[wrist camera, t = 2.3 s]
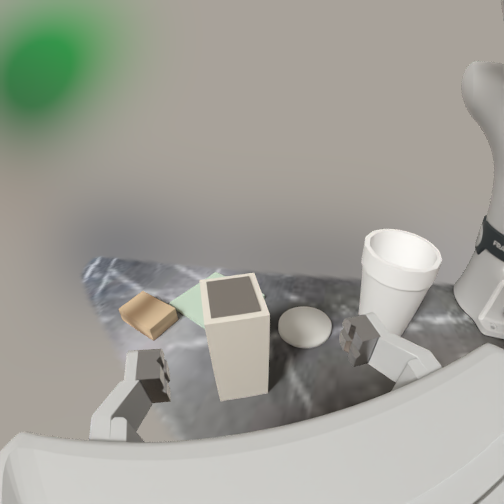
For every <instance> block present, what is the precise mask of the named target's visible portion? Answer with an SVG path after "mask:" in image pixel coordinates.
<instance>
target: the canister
mask: <svg viewBox="0 0 504 504" xmlns="http://www.w3.org/2000/svg"><path fill="white" fill-rule="evenodd" d="M200 290H201V300H202V309H203V318H204V326H205V331H206V336H207V341H208V346H209V351H210V356H211V361H212V366H213V370H214V375H215V379H216V384H217V388H218V393H219V397H220V401H225V400H231V399H238V398H244V397H249V396H255V395H260V394H265V393H268V374H269V336H270V314H269V311H268V308H267V306H266V303H265V301H264V298H263V295H262V293H261V290H260V287H259V285H258V282H257V279H256V277H255V274H254V273H249V274H242V275H235V276H227V277H220V278H212V279H205V280H200Z"/></svg>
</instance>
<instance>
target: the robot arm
mask: <svg viewBox="0 0 504 504" xmlns="http://www.w3.org/2000/svg"><path fill="white" fill-rule="evenodd" d="M501 5H502V12H503V20H504V0H501ZM461 90H462V97H463V100H464V103H465V106H466V108H467V110H468V112H469V113H470V115H471V116H472V117H473V119H474V120H475V121H476V122H477V123H478V125H479V126H480V128H481V129H482V131H483V132H484V134H485V136H486V138H487V140H488V142H489V145H490V148H491V151H492V155H493V160H494V183H493V190H492V196H491V201H490V205H489V210H488V214H487V215H486V216H485V217H484V220H483V223H482V224H481V227H480V230H479V234H478V237H477V240H476V246H475V248H476V249H475V251H474V254H473V256H472V258H471V260H470V262H469V264H468V266H467V267H466V269H465V271H464V272H463V274H462V275H461V277H460V278H459V279H458V280H457V282H456V283H455V285H454V295H455V298H456V300H457V302H458V304H459V305H460V306H461V308H462V309H463V310H464V311H465V312H466V313H467V314H468V315H469V316H470V317H471V318H472V319H473V320H474V321H475V323H476V325H477V327H478V328H479V330H480V331H481V332H482V333H483V334H484V335H487V336H492V337H496V338H501V339H504V64H501V63H495V62H485V61H484V62H483V61H473V62H472V63H471V64H470V65H469V66H468V67H467V68H466V70H465V72H464V74H463V77H462V84H461ZM342 325H343V327H344V328H343V330H342V331H341V332H340V336H339V338H340V344H341V347H342V349H343V350H344V351H346V352H347V353H348V356H347V358H348V359H349V361H350V363H351V365H352V366H353V367H356V366H360V365H363V364H367V363H368V364H369V365H371V366H372V367H374V368H375V369H377V370H378V371H379V372H381V373H382V374H384V375H385V376H387V377H388V378H390V379H391V380H393V381H394V382H396V384H395V386H394V387H393V389H392V391H391V392H389V393H386V394H384V395H381V396H379V397H376V398H374V399H371V400H368V401H365V402H363V403H360V404H357V405H354V406H351V407H348V408H345V409H342V410H339V411H336V412H332V413H329V414H326V415H322V416H319V417H315V418H312V419H308V420H304V421H300V422H296V423H292V424H288V425H283V426H279V427H274V428H270V429H265V430H260V431H254V432H249V433H243V434H236V435H230V436H223V437H215V438H206V439H196V440H184V441H168V442H144V441H143V440H142V439H141V437H140V436H139V435H138V434H137V433H136V431H137V429H138V428H139V426H140V424H141V423H142V421H143V419H144V417H145V416H146V414H147V412H148V411H149V409H150V407H151V406H152V403H161V402H171V397H170V387H169V385H168V383H169V381H170V373H169V367H168V364H167V361H166V360H165V359H164V353H163V350H162V349H151V350H134V351H128V353H127V357H126V365H125V374H124V381H120V383H119V384H118V385H117V386H116V388H115V389H114V390H113V391H112V392H111V393H110V395H109V396H108V397H107V398H106V399H105V401H104V402H103V403H102V404H101V405H100V407H99V408H98V409H97V410H96V411H95V413H94V414H93V415H92V419H91V427H90V437H89V440H79V439H70V438H62V437H54V436H48V435H41V434H36V433H31V432H20V433H18V434H17V435H16V436H14V437H13V438H12V440H10V441H9V442H8V443H7V444H6V446H4V447H3V449H2V450H1V451H0V504H504V349H502V348H500V347H498V346H495V345H493V344H490V343H487V344H484V345H482V346H480V347H479V348H477V349H475V350H474V351H472V352H470V353H469V354H467V355H465V356H463V357H462V358H460V359H458V360H456V361H454V362H453V363H451V364H449V365H447V366H445V367H443V368H442V366H441V365H440V364H439V362H438V361H437V360H436V358H435V357H434V356H433V354H432V353H431V352H430V351H429V350H427V349H425V348H422V347H420V346H418V345H416V344H414V343H412V342H410V341H408V340H406V339H404V338H402V337H399V336H397V335H395V334H393V333H392V334H390V333H389V331H388V330H387V329H386V327H385V326H384V325H383V323H382V322H381V321H380V319H379V318H378V317H377V315H376V314H375V313H374V312H370V313H366V314H363V315H358V316H354V317H350V318H346V319H345V320H344V321H343V324H342Z"/></svg>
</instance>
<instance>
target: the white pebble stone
mask: <svg viewBox="0 0 504 504" xmlns="http://www.w3.org/2000/svg"><path fill="white" fill-rule="evenodd" d="M331 328H332V325H331V321H330V319H329V317H328V316H327V315H326V314H325V313H324V312H322V311H320V310H318V309H316V308H312V307H306V306H302V307H295V308H292V309H289V310H287V311H286V312H284V313H283V314H282V316H281V317H280V319H279V324H278V331H279V334H280V336H281V338H282V339H283V340H284V341H285V342H287V343H288V344H290V345H292V346H294V347H298V348H314V347H317V346H320V345H322V344H323V343H324V342H326V341H327V339H328V338H329V336H330V333H331Z"/></svg>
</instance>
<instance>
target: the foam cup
mask: <svg viewBox="0 0 504 504" xmlns="http://www.w3.org/2000/svg"><path fill="white" fill-rule="evenodd" d="M441 263H442V258H441V255H440V251H439V250H438V249H437V248H436V247H435V246H434V245H433V244H432V243H431V242H430V241H428V240H426V239H424V238H422V237H420V236H419V235H416V234H413V233H410V232H406V231H403V230H396V229H382V230H375V231H373V232H371V233H370V234H369V235H367V236H366V238H365V243H364V249H363V254H362V262H361V264H362V265H363V269H362V283H361V295H360V305H359V315H363V314H366V313H370V312H374V313H375V314H376V315H377V317H378V318H379V319H380V321H381V322H382V323H383V325H384V326H385V327H386V329H387V330H388V331H389V333H390V334H392V333H393V334H395V335H397V336H399V337H401V335H402V334H403V332H404V331H405V329H406V327H407V326H408V324H409V323H410V321H411V319H412V318H413V316H414V314H415V312H416V311H417V309H418V307H419V306H420V304H421V302H422V300H423V298H424V297H425V295H426V293H427V291H428V289H429V287H431V286H432V284H433V282H434V281H435V279H436V277H437V274H438V271H439V269H440V265H441Z"/></svg>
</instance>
